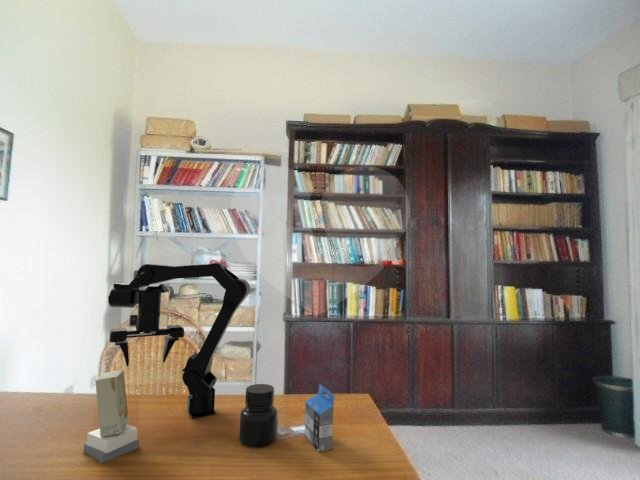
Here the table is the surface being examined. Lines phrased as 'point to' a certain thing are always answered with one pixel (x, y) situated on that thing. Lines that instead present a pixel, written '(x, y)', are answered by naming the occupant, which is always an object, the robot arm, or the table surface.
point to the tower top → (111, 439)
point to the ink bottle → (258, 417)
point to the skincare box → (112, 403)
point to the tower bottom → (115, 453)
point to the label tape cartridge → (320, 419)
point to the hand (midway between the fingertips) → (145, 364)
